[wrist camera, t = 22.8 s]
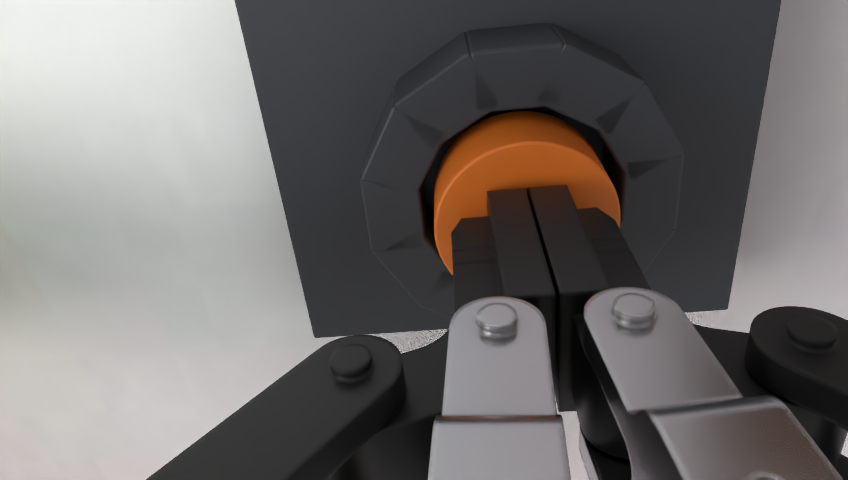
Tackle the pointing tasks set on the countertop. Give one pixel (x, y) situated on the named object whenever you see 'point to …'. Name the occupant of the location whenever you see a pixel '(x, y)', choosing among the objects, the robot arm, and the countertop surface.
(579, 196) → the bell button
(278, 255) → the countertop surface
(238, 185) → the countertop surface
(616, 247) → the robot arm
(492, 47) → the box
